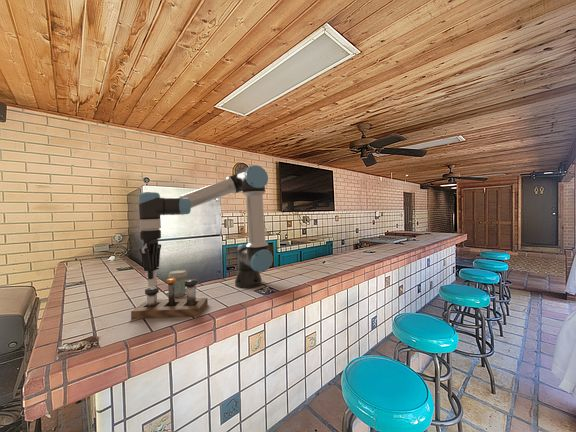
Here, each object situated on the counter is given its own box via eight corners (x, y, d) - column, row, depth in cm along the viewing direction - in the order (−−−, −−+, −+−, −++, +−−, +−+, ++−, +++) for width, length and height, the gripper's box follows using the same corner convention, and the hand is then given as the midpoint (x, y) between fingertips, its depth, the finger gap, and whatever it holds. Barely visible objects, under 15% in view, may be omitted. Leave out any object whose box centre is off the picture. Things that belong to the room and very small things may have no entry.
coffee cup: (164, 297, 116) (164, 272, 116) (179, 291, 124) (179, 268, 123) (176, 299, 112) (175, 274, 112) (191, 294, 120) (190, 270, 119)
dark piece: (177, 302, 101) (177, 278, 101) (174, 305, 98) (173, 280, 97) (169, 302, 101) (168, 278, 101) (165, 305, 97) (165, 280, 97)
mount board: (207, 304, 106) (207, 297, 106) (199, 316, 94) (198, 308, 94) (147, 306, 104) (147, 299, 104) (131, 318, 92) (131, 311, 92)
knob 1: (161, 309, 101) (160, 286, 101) (155, 314, 96) (154, 290, 96) (149, 309, 101) (148, 287, 101) (142, 314, 96) (142, 291, 96)
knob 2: (199, 300, 102) (198, 278, 102) (195, 305, 97) (194, 282, 97) (187, 301, 102) (187, 279, 102) (182, 305, 97) (182, 282, 97)
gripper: (149, 228, 104) (151, 281, 105) (131, 231, 91) (134, 291, 92) (166, 228, 105) (168, 281, 105) (151, 230, 92) (153, 290, 92)
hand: (152, 285), depth 99 cm, fingers closed
